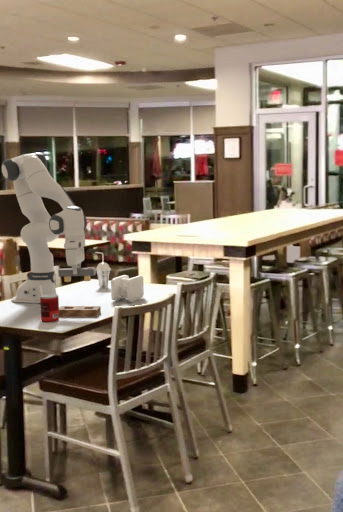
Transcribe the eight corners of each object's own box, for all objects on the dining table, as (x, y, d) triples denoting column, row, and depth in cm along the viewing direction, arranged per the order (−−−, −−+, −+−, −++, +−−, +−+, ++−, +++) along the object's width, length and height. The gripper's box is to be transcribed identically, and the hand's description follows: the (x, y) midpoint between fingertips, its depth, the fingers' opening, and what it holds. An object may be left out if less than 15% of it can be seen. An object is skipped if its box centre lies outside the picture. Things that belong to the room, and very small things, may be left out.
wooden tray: (56, 316, 302) (56, 309, 302) (61, 312, 310) (61, 305, 310) (97, 316, 301) (97, 309, 300) (100, 312, 309) (100, 306, 308)
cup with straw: (112, 288, 368) (111, 251, 365) (95, 289, 366) (94, 252, 363) (110, 285, 376) (109, 249, 373) (93, 286, 374) (92, 250, 371)
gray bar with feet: (59, 282, 306) (58, 268, 306) (61, 280, 310) (60, 267, 310) (94, 281, 305) (93, 268, 304) (96, 279, 309) (95, 266, 308)
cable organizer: (129, 303, 328) (128, 279, 326) (110, 302, 332) (109, 278, 331) (144, 298, 341) (143, 275, 340) (125, 296, 346) (125, 273, 344)
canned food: (60, 318, 298) (59, 293, 297) (57, 322, 291) (57, 297, 289) (42, 318, 298) (41, 293, 297) (39, 322, 290) (38, 297, 289)
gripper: (73, 240, 316) (75, 270, 318) (62, 245, 296) (64, 277, 297) (87, 240, 315) (88, 269, 317) (77, 245, 295) (78, 276, 297)
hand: (76, 273), depth 307 cm, fingers closed on gray bar with feet, 4 cm apart
